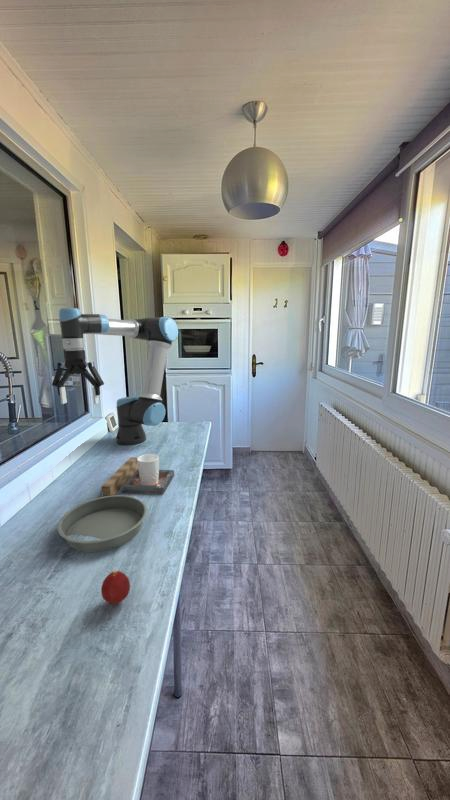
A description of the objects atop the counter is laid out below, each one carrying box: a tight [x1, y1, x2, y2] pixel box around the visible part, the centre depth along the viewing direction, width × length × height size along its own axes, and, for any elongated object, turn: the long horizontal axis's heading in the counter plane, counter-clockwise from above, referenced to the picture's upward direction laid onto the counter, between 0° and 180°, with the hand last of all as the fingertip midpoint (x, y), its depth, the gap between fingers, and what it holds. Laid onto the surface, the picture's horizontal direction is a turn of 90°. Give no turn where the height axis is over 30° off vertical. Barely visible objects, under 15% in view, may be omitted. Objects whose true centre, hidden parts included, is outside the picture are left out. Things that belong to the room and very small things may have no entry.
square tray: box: [122, 469, 175, 495], centre depth 127 cm, size 15×15×2 cm
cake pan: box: [57, 494, 148, 553], centre depth 99 cm, size 25×25×4 cm
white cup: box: [136, 453, 160, 486], centre depth 126 cm, size 8×8×10 cm
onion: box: [100, 570, 131, 605], centre depth 72 cm, size 6×6×8 cm
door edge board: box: [101, 456, 138, 497], centre depth 128 cm, size 26×3×5 cm, turn 174°
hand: (80, 403), depth 134 cm, fingers open, 13 cm apart
